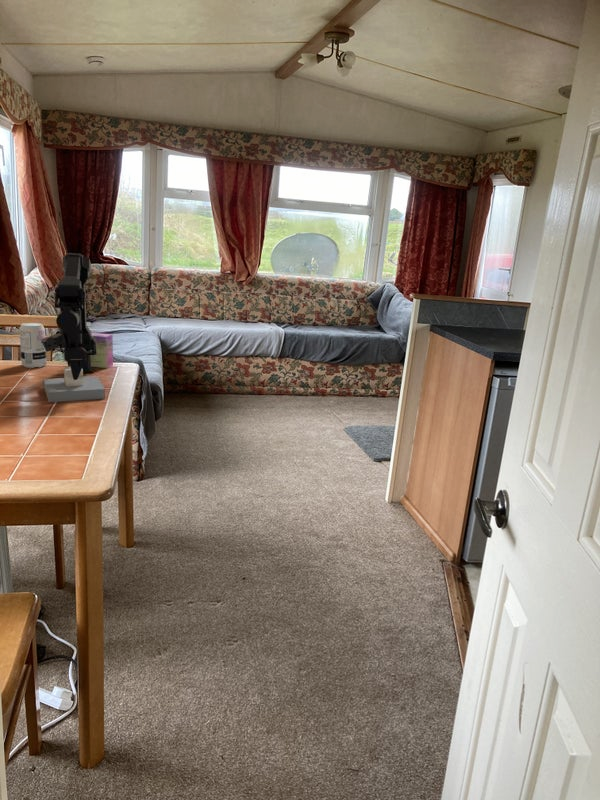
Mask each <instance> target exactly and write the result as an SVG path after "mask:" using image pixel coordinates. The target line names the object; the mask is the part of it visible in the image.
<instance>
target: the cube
mask: <svg viewBox="0 0 600 800" xmlns="http://www.w3.org/2000/svg"><path fill="white" fill-rule="evenodd" d="M83 377H84V373H83V369H82V370H81V372H80V374H79V377H78V379H77V380H74V379H73V376H72V372H71V368H70V366H68V365H67V366H63V378H64V383H65V385H66V386H83Z"/></svg>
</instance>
